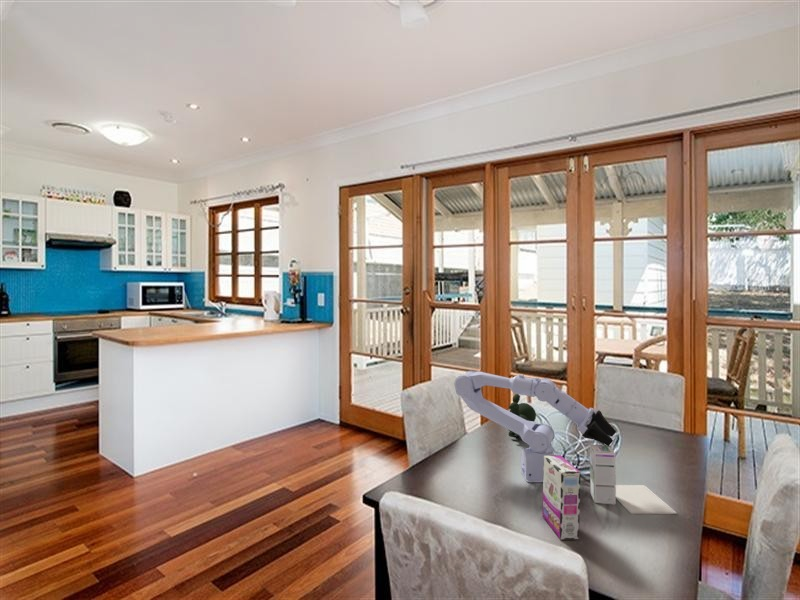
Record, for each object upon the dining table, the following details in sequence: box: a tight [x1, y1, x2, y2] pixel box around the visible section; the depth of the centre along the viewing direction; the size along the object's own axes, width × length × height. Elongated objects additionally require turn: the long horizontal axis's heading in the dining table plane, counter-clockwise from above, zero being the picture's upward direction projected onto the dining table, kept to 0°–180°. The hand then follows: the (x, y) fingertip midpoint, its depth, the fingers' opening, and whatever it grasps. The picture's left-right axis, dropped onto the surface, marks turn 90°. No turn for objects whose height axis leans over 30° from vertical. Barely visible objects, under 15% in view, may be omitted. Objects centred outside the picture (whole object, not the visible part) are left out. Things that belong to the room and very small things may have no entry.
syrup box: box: [589, 444, 617, 505], centre depth 127 cm, size 6×6×14 cm
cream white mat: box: [616, 484, 678, 515], centre depth 127 cm, size 12×16×1 cm
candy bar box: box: [542, 454, 582, 541], centre depth 112 cm, size 11×5×16 cm, turn 5°
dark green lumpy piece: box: [507, 393, 537, 439], centre depth 181 cm, size 9×19×25 cm
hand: (612, 438), depth 131 cm, fingers open, 6 cm apart
